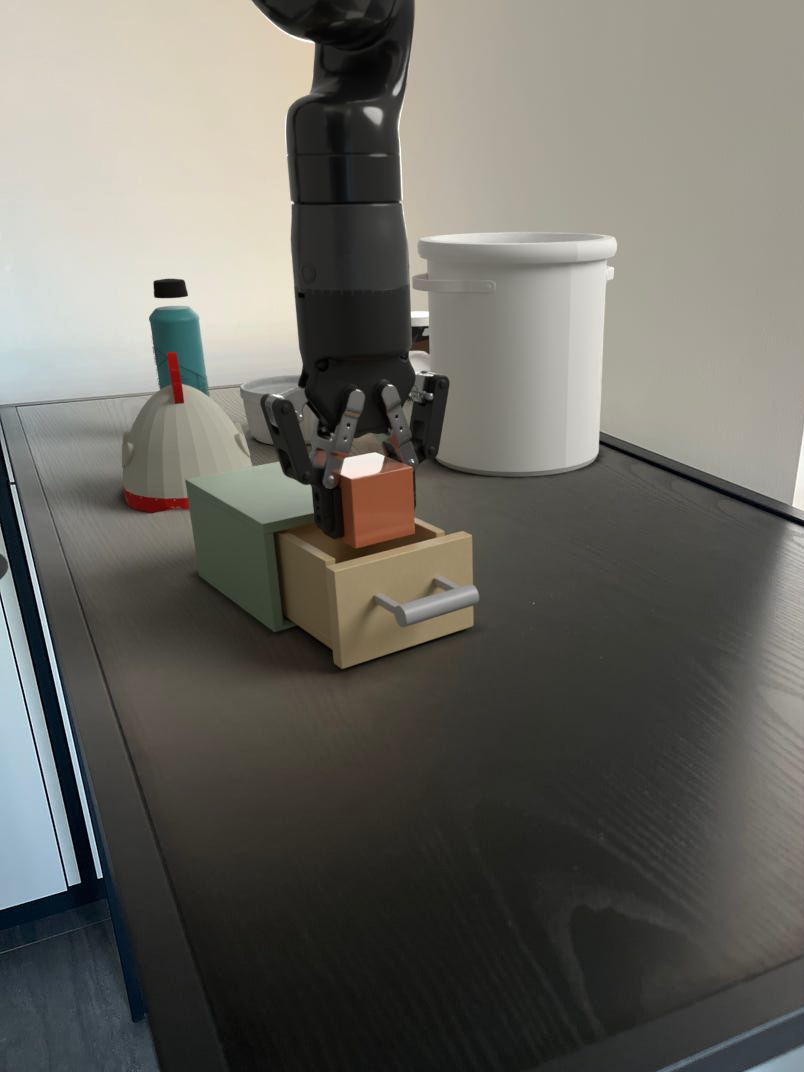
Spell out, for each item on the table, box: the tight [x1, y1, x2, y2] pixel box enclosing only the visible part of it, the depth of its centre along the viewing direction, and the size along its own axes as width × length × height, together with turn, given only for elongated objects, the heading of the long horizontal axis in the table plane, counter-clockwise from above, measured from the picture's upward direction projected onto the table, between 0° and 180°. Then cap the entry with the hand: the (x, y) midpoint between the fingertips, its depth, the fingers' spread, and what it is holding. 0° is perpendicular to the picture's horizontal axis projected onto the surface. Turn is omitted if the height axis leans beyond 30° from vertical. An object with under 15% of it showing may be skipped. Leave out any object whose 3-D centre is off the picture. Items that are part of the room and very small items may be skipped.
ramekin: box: [239, 374, 334, 446], centre depth 129 cm, size 13×13×7 cm
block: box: [337, 452, 416, 549], centre depth 69 cm, size 5×5×5 cm
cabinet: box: [185, 455, 315, 633], centre depth 81 cm, size 15×13×9 cm
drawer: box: [273, 516, 480, 670], centre depth 72 cm, size 18×11×7 cm, turn 37°
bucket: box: [411, 231, 618, 478], centre depth 114 cm, size 26×22×25 cm
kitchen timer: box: [121, 352, 254, 514], centre depth 104 cm, size 14×14×15 cm
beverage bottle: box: [148, 278, 211, 398], centre depth 126 cm, size 6×7×20 cm
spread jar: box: [408, 311, 430, 398], centre depth 152 cm, size 12×11×12 cm
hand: (367, 526), depth 70 cm, fingers closed on block, 5 cm apart
